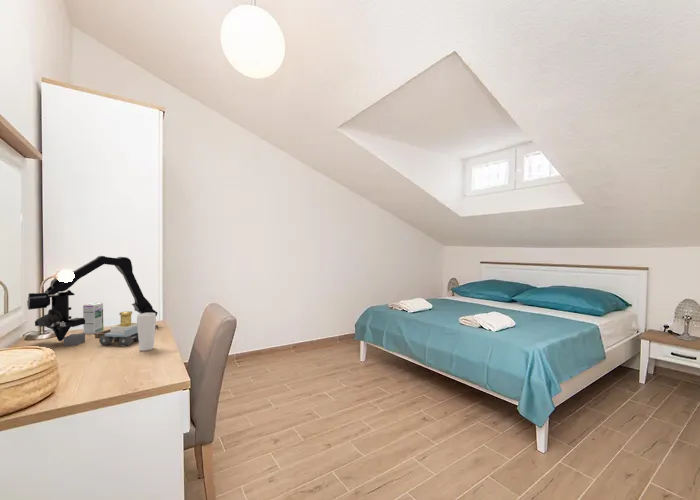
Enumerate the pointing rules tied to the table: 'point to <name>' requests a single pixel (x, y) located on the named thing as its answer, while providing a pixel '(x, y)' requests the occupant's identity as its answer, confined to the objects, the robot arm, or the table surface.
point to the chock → (74, 339)
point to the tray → (121, 328)
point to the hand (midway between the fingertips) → (60, 340)
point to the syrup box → (93, 318)
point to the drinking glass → (146, 330)
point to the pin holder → (101, 333)
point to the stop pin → (125, 318)
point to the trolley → (120, 337)
